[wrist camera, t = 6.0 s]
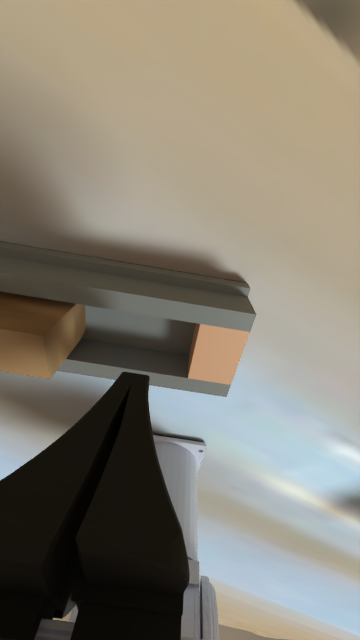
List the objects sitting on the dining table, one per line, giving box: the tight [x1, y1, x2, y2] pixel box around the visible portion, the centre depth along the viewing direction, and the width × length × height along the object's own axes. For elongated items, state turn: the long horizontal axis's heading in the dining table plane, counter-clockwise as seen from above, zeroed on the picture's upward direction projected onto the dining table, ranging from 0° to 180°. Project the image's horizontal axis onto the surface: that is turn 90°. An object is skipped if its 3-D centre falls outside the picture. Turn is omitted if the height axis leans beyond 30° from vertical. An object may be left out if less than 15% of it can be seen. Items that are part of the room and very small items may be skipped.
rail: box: [0, 242, 256, 397], centre depth 16 cm, size 8×22×4 cm, turn 81°
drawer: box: [0, 291, 86, 379], centre depth 14 cm, size 3×8×5 cm, turn 81°
